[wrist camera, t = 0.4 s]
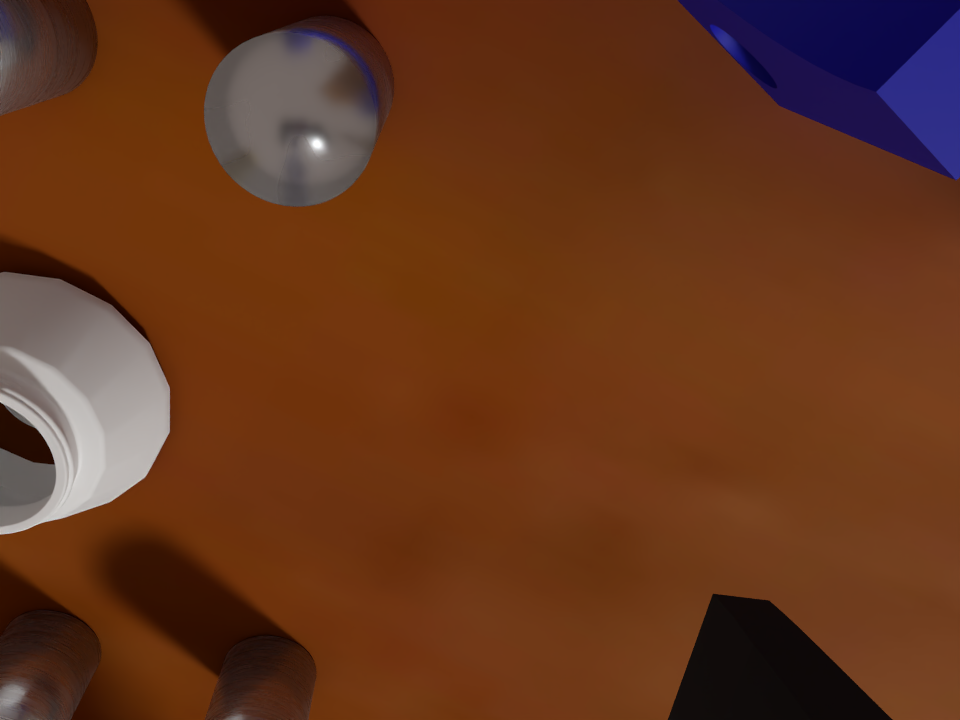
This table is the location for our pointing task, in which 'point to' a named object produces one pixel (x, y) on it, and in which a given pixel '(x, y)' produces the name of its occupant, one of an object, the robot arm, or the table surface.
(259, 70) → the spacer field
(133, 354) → the white jar
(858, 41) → the blue curved block
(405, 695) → the table surface
